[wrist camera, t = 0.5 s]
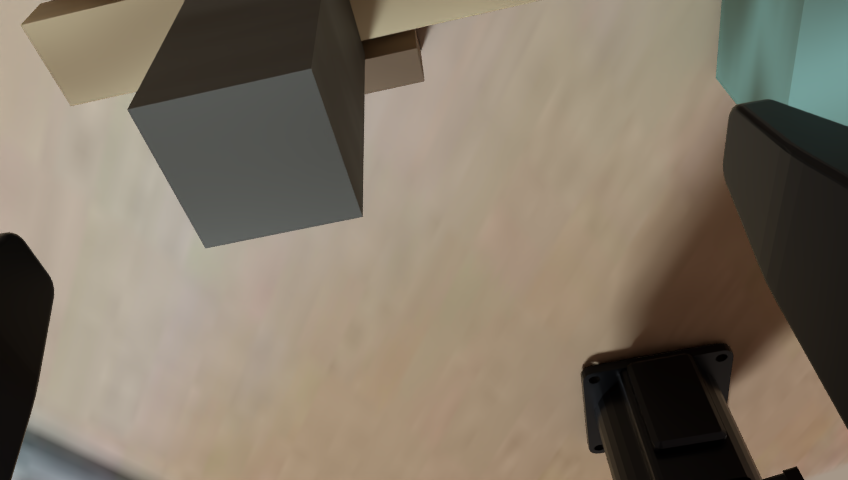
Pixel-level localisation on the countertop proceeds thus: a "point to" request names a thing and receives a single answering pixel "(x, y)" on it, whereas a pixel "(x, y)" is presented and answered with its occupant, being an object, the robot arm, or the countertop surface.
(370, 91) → the guide
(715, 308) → the countertop surface
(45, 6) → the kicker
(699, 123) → the countertop surface
